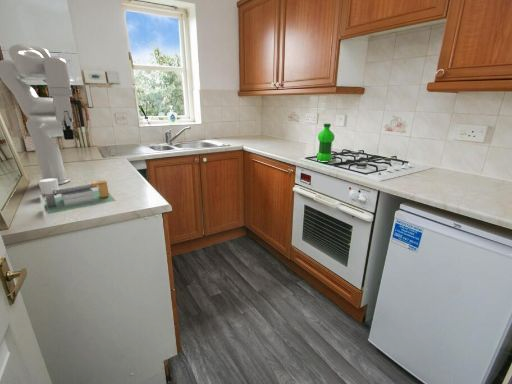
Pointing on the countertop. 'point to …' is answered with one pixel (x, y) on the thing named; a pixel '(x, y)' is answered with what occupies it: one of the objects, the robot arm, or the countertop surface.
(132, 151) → the countertop surface
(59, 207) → the circuit board
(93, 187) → the strap
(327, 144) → the plastic bottle
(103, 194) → the block
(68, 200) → the heat sink
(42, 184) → the white grey cylinder
